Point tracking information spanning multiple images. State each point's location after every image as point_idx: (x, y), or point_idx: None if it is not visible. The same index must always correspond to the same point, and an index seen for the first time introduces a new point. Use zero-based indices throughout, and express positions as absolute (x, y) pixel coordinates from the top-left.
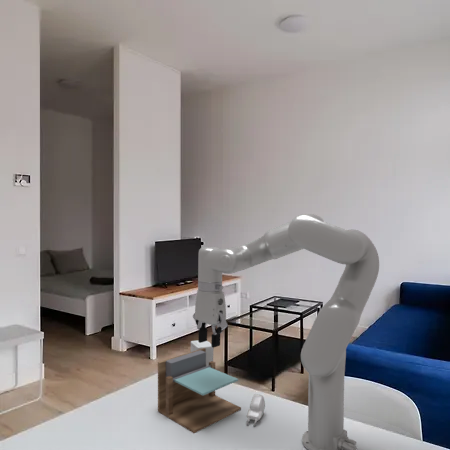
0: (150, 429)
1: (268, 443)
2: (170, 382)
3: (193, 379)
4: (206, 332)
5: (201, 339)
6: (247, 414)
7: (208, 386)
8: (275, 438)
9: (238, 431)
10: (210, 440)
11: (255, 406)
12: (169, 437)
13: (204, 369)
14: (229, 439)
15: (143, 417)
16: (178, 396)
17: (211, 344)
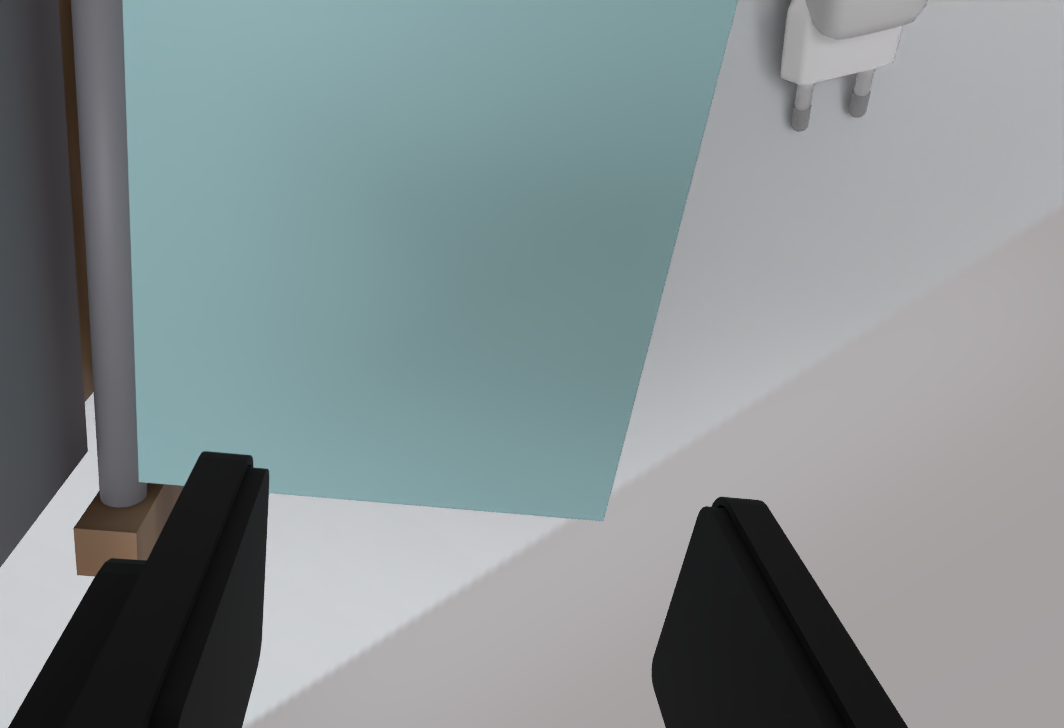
0: (271, 533)
1: (999, 223)
2: (155, 530)
3: (294, 355)
4: (210, 664)
5: (247, 678)
6: (791, 68)
7: (552, 384)
8: (1029, 142)
9: (766, 222)
10: (660, 408)
11: (886, 23)
12: (434, 522)
13: (139, 6)
14: (756, 333)
15: (98, 474)
16: (75, 197)
17: (664, 715)
